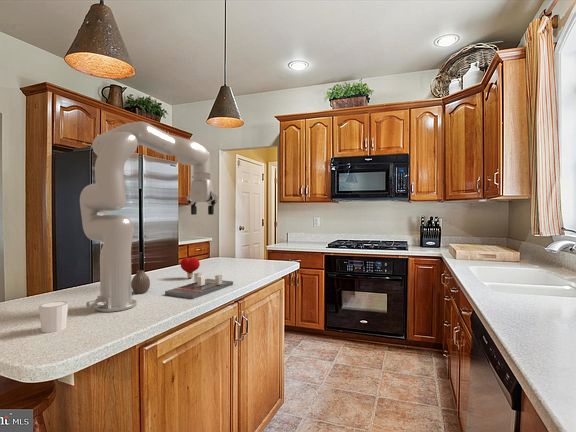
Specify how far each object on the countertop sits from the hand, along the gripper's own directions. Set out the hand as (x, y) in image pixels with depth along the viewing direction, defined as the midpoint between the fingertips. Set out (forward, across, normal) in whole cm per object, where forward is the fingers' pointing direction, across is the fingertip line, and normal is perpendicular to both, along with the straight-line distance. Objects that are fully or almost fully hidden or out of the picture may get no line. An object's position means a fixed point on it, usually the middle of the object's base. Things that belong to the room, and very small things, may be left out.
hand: (202, 214), depth 155 cm
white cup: (+31, +1, -67) cm, 74 cm away
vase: (+31, -10, -27) cm, 42 cm away
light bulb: (+31, -10, +3) cm, 33 cm away
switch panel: (+31, +10, -13) cm, 35 cm away
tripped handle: (+29, +10, -13) cm, 33 cm away
